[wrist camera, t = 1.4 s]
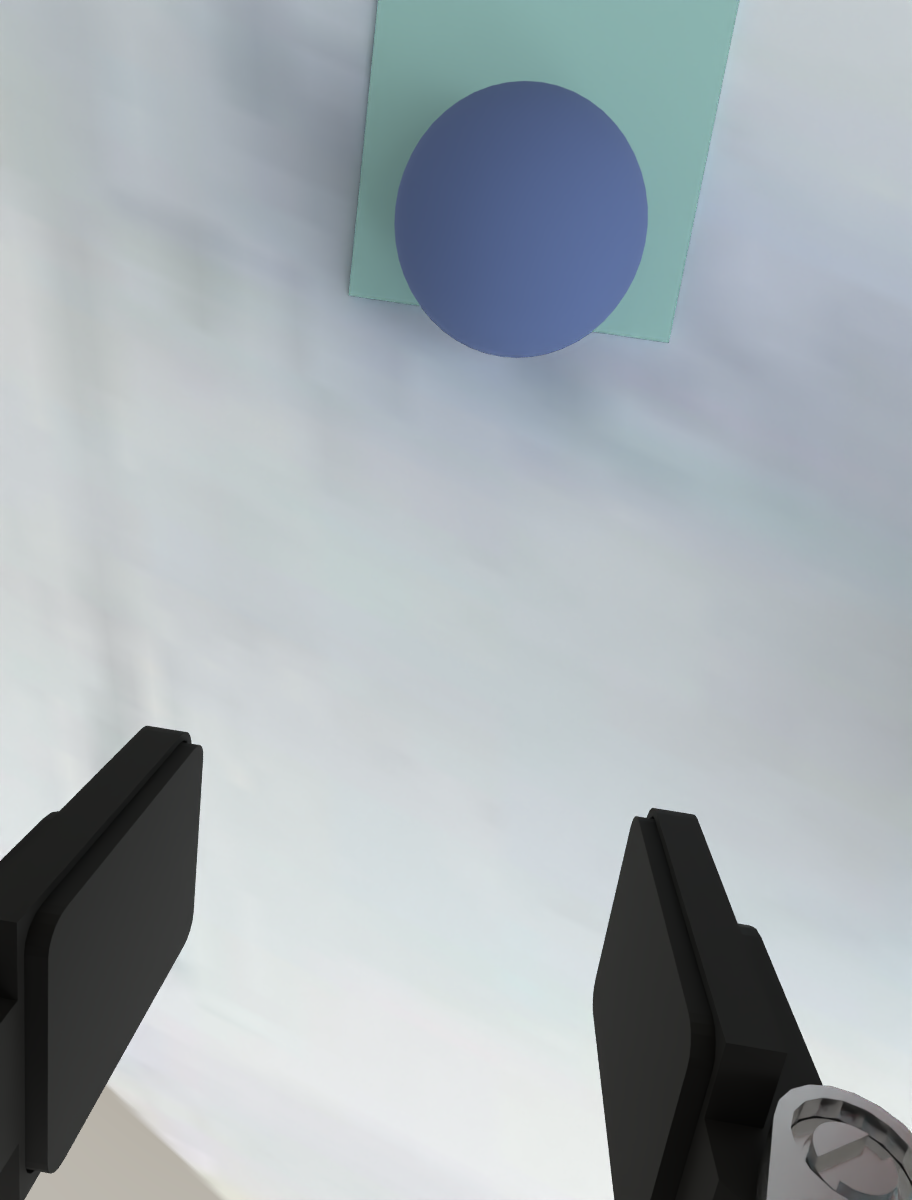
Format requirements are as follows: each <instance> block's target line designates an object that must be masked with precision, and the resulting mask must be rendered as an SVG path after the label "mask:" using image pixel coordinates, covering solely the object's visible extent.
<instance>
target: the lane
mask: <svg viewBox="0 0 912 1200" xmlns="http://www.w3.org/2000/svg"><path fill="white" fill-rule="evenodd" d="M738 4H739V0H378V5H377V15H376V25H375V35H374V45H373V55H372V65H371V75H370V85H369V95H368V105H367V115H366V125H365V135H364V145H363V155H362V165H361V175H360V185H359V195H358V205H357V215H356V226H355V236H354V246H353V256H352V266H351V276H350V286H349V295H350V296H356V297H363V298H369V299H376V300H383V301H390V302H396V303H403V304H410V305H417V306H420V305H419V303H418V302H417V300H416V298H415V297H414V295H413V294H412V292H411V290H410V288H409V286H408V283H407V281H406V279H405V277H404V274H403V271H402V268H401V265H400V262H399V258H398V253H397V248H396V242H395V228H394V221H395V206H396V200H397V194H398V189H399V185H400V182H401V179H402V175H403V172H404V170H405V168H406V165H407V163H408V161H409V158H410V156H411V154H412V152H413V150H414V149H415V147H416V145H417V144H418V142H419V140H420V139H421V137H422V136H423V135H424V133H425V132H426V131H427V130H428V128H429V127H430V126H431V125H432V123H433V122H434V121H435V120H437V119H438V118H439V117H440V116H441V115H442V114H443V113H444V112H445V111H446V110H447V109H449V108H450V107H451V106H453V105H454V104H455V103H457V102H458V101H459V100H461V99H463V98H465V97H467V96H468V95H470V94H472V93H474V92H476V91H479V90H481V89H484V88H487V87H489V86H493V85H497V84H501V83H506V82H516V81H535V82H544V83H548V84H553V85H558V86H560V87H563V88H566V89H568V90H571V91H574V92H576V93H577V94H579V95H581V96H583V97H584V98H586V99H588V100H590V101H591V102H592V103H594V104H595V105H596V106H597V107H599V108H600V109H601V110H603V111H604V112H605V113H606V114H607V115H608V116H609V117H610V118H611V119H612V121H613V122H614V123H615V124H616V125H617V126H618V128H619V129H620V131H621V132H622V133H623V135H624V136H625V137H626V139H627V141H628V143H629V145H630V146H631V148H632V150H633V152H634V154H635V156H636V159H637V161H638V164H639V167H640V169H641V172H642V176H643V180H644V184H645V188H646V196H647V204H648V227H647V235H646V242H645V247H644V251H643V255H642V259H641V262H640V264H639V267H638V270H637V272H636V275H635V277H634V279H633V281H632V283H631V285H630V287H629V289H628V290H627V292H626V294H625V295H624V297H623V298H622V300H621V301H620V303H619V304H618V305H617V307H616V308H615V309H614V311H613V312H612V313H611V314H610V315H609V316H608V317H607V318H606V319H605V321H604V322H602V323H601V324H600V325H599V326H598V327H597V328H595V329H594V330H593V331H592V332H599V333H606V334H612V335H619V336H626V337H632V338H639V339H646V340H653V341H659V342H666V343H669V339H670V334H671V329H672V324H673V319H674V314H675V310H676V305H677V300H678V295H679V290H680V285H681V280H682V276H683V271H684V266H685V261H686V256H687V251H688V247H689V242H690V237H691V232H692V227H693V222H694V218H695V213H696V208H697V203H698V198H699V193H700V188H701V184H702V179H703V174H704V169H705V164H706V159H707V155H708V150H709V145H710V140H711V135H712V130H713V125H714V121H715V116H716V111H717V106H718V101H719V96H720V92H721V87H722V82H723V77H724V72H725V67H726V62H727V58H728V53H729V48H730V43H731V38H732V33H733V29H734V24H735V19H736V14H737V9H738Z"/></svg>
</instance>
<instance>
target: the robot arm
mask: <svg viewBox="0 0 912 1200" xmlns="http://www.w3.org/2000/svg"><path fill="white" fill-rule="evenodd" d="M202 767H203V749H202V747H201V745H195V744H191V737H190V735H189V733H188V732H182V731H176V730H170V729H164V728H157V727H151V726H145V727H143V728H142V729H141V730H140V731H139V732H138V733H137V734H136V735H135V736H134V737H133V738H132V739H131V740H130V741H129V742H128V743H127V744H126V745H125V746H124V747H123V748H122V749H121V750H120V751H119V752H118V753H117V754H116V755H115V756H114V757H113V758H112V759H111V760H110V761H109V762H108V763H107V764H106V765H105V766H104V767H103V768H102V769H101V770H100V771H99V772H98V773H97V774H96V775H95V776H94V777H93V778H92V779H91V780H90V781H89V782H88V783H87V784H86V785H85V786H84V787H83V788H82V789H81V790H80V791H79V792H78V793H77V794H76V795H75V796H74V797H73V798H72V799H71V800H70V801H69V802H68V803H67V804H66V805H65V806H64V807H63V808H62V809H61V810H60V811H57V812H52V813H50V814H49V815H47V816H46V817H45V818H43V819H42V820H41V821H40V822H39V823H38V824H37V825H36V826H35V827H34V828H33V829H32V830H31V831H30V832H29V833H28V834H27V835H26V836H25V837H24V838H23V839H22V840H21V841H20V842H19V843H18V844H17V845H16V846H15V847H14V848H13V849H12V850H11V851H10V852H9V853H8V854H7V855H6V856H5V857H4V858H3V859H2V860H1V861H0V1200H24V1199H25V1198H26V1196H27V1194H28V1192H29V1191H30V1189H31V1187H32V1185H33V1184H34V1182H35V1180H36V1179H37V1177H38V1175H39V1174H40V1172H46V1173H53V1172H55V1171H56V1170H57V1169H58V1168H59V1166H60V1165H61V1163H62V1162H63V1160H64V1159H65V1157H66V1155H67V1153H68V1151H69V1150H70V1148H71V1146H72V1144H73V1143H74V1141H75V1139H76V1137H77V1135H78V1134H79V1132H80V1130H81V1128H82V1126H83V1125H84V1123H85V1121H86V1119H87V1118H88V1116H89V1114H90V1112H91V1110H92V1109H93V1107H94V1105H95V1103H96V1101H97V1100H98V1098H99V1096H100V1094H101V1093H102V1091H103V1089H104V1087H105V1085H106V1084H107V1082H108V1080H109V1078H110V1077H111V1075H112V1073H113V1071H114V1069H115V1068H116V1066H117V1064H118V1062H119V1061H120V1059H121V1057H122V1055H123V1053H124V1052H125V1050H126V1048H127V1046H128V1044H129V1043H130V1041H131V1039H132V1037H133V1036H134V1034H135V1032H136V1030H137V1028H138V1027H139V1025H140V1023H141V1021H142V1019H143V1018H144V1016H145V1014H146V1012H147V1011H148V1009H149V1007H150V1005H151V1003H152V1002H153V1000H154V998H155V996H156V995H157V993H158V991H159V989H160V987H161V986H162V984H163V982H164V980H165V978H166V977H167V975H168V973H169V971H170V970H171V968H172V966H173V964H174V962H175V961H176V959H177V957H178V955H179V954H180V952H181V950H182V948H183V946H184V944H185V942H186V940H187V938H188V935H189V932H190V929H191V925H192V920H193V912H194V896H195V880H196V864H197V848H198V831H199V815H200V799H201V783H202ZM593 1017H594V1026H595V1034H596V1043H597V1052H598V1061H599V1069H600V1078H601V1087H602V1096H603V1104H604V1113H605V1122H606V1131H607V1139H608V1148H609V1157H610V1166H611V1174H612V1183H613V1192H614V1200H912V1133H911V1132H910V1131H909V1130H908V1129H907V1127H906V1126H905V1125H904V1124H903V1123H901V1122H900V1121H899V1120H897V1119H896V1118H895V1117H893V1116H892V1115H891V1114H889V1113H888V1112H887V1111H885V1110H884V1109H883V1108H881V1107H880V1106H878V1105H876V1104H874V1103H872V1102H870V1101H868V1100H867V1099H865V1098H863V1097H861V1096H859V1095H857V1094H855V1093H852V1092H849V1091H845V1090H842V1089H839V1088H836V1087H832V1086H823V1085H822V1082H821V1080H820V1078H819V1075H818V1073H817V1070H816V1068H815V1066H814V1063H813V1061H812V1058H811V1056H810V1054H809V1051H808V1049H807V1046H806V1044H805V1042H804V1039H803V1037H802V1034H801V1032H800V1030H799V1027H798V1025H797V1022H796V1020H795V1018H794V1015H793V1013H792V1010H791V1008H790V1006H789V1003H788V1001H787V998H786V996H785V994H784V991H783V989H782V986H781V984H780V982H779V979H778V977H777V974H776V972H775V969H774V967H773V965H772V962H771V960H770V957H769V955H768V953H767V950H766V948H765V945H764V943H763V941H762V938H761V936H760V935H759V933H758V931H757V930H756V929H755V928H754V927H752V926H749V925H743V924H738V923H737V921H736V918H735V915H734V913H733V910H732V908H731V905H730V902H729V900H728V897H727V895H726V892H725V889H724V887H723V884H722V882H721V879H720V876H719V874H718V871H717V869H716V866H715V863H714V861H713V858H712V856H711V853H710V850H709V848H708V845H707V843H706V840H705V837H704V835H703V832H702V830H701V827H700V824H699V822H698V819H697V818H696V816H695V815H693V814H687V813H681V812H674V811H668V810H662V809H656V808H652V809H651V810H650V811H649V813H648V816H647V818H643V817H637V816H635V817H634V819H633V821H632V824H631V828H630V832H629V836H628V841H627V845H626V849H625V854H624V858H623V863H622V867H621V871H620V876H619V880H618V884H617V889H616V893H615V897H614V902H613V906H612V910H611V915H610V919H609V923H608V928H607V932H606V936H605V941H604V945H603V949H602V954H601V958H600V962H599V967H598V971H597V975H596V980H595V985H594V992H593Z"/></svg>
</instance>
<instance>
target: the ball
mask: <svg viewBox="0 0 912 1200" xmlns="http://www.w3.org/2000/svg"><path fill="white" fill-rule="evenodd" d="M647 227H648V204H647V196H646V188H645V184H644V180H643V176H642V172H641V169H640V167H639V164H638V161H637V159H636V156H635V154H634V152H633V150H632V148H631V146H630V145H629V143H628V141H627V139H626V137H625V136H624V135H623V133H622V132H621V131H620V129H619V128H618V126H617V125H616V124H615V123H614V122H613V121H612V119H611V118H610V117H609V116H608V115H607V114H606V113H605V112H604V111H603V110H601V109H600V108H599V107H597V106H596V105H595V104H594V103H592V102H591V101H590V100H588V99H586V98H584V97H583V96H581V95H579V94H577V93H576V92H574V91H571V90H568V89H566V88H563V87H560V86H558V85H553V84H548V83H544V82H535V81H516V82H506V83H501V84H497V85H493V86H489V87H487V88H484V89H481V90H479V91H476V92H474V93H472V94H470V95H468V96H467V97H465V98H463V99H461V100H459V101H458V102H457V103H455V104H454V105H453V106H451V107H450V108H449V109H447V110H446V111H445V112H444V113H443V114H442V115H441V116H440V117H439V118H438V119H437V120H435V121H434V122H433V123H432V125H431V126H430V127H429V128H428V130H427V131H426V132H425V133H424V135H423V136H422V137H421V139H420V140H419V142H418V144H417V145H416V147H415V149H414V150H413V152H412V154H411V156H410V158H409V161H408V163H407V165H406V168H405V170H404V172H403V175H402V179H401V182H400V185H399V189H398V194H397V200H396V206H395V221H394V228H395V242H396V248H397V253H398V258H399V262H400V265H401V268H402V271H403V274H404V277H405V279H406V281H407V283H408V286H409V288H410V290H411V292H412V294H413V295H414V297H415V298H416V300H417V302H418V303H419V305H420V306H421V308H422V309H423V310H424V311H425V313H426V314H427V315H428V316H429V318H430V319H431V320H432V321H433V322H434V323H435V324H436V325H437V326H439V327H440V328H441V329H442V330H443V331H444V332H445V333H447V334H448V335H450V336H451V337H452V338H454V339H455V340H457V341H459V342H461V343H462V344H464V345H466V346H468V347H470V348H473V349H475V350H478V351H481V352H483V353H487V354H492V355H496V356H502V357H514V358H519V357H533V356H538V355H543V354H548V353H551V352H554V351H557V350H560V349H563V348H565V347H567V346H569V345H571V344H573V343H575V342H577V341H579V340H580V339H582V338H583V337H585V336H586V335H588V334H589V333H591V332H592V331H593V330H594V329H595V328H597V327H598V326H599V325H600V324H601V323H602V322H604V321H605V319H606V318H607V317H608V316H609V315H610V314H611V313H612V312H613V311H614V309H615V308H616V307H617V305H618V304H619V303H620V301H621V300H622V298H623V297H624V295H625V294H626V292H627V290H628V289H629V287H630V285H631V283H632V281H633V279H634V277H635V275H636V272H637V270H638V267H639V264H640V262H641V259H642V255H643V251H644V247H645V242H646V235H647Z"/></svg>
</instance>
